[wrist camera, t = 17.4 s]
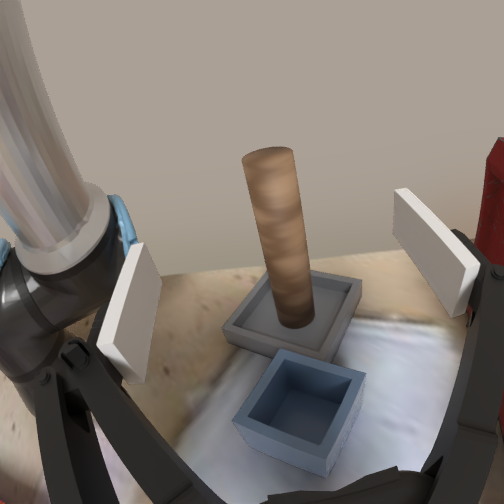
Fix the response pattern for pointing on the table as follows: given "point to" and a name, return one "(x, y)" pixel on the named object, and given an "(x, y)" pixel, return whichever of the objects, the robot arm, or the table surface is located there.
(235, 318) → the tray
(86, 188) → the robot arm
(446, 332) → the table surface
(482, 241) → the jerry can
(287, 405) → the open box
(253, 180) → the dowel
